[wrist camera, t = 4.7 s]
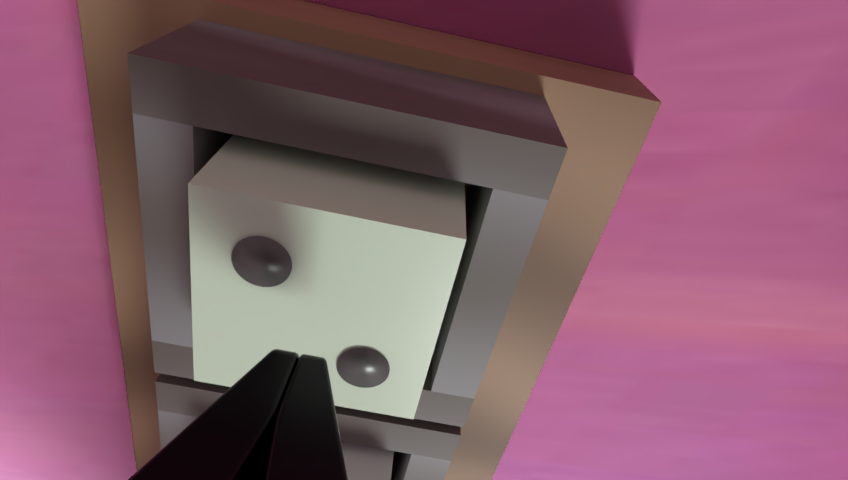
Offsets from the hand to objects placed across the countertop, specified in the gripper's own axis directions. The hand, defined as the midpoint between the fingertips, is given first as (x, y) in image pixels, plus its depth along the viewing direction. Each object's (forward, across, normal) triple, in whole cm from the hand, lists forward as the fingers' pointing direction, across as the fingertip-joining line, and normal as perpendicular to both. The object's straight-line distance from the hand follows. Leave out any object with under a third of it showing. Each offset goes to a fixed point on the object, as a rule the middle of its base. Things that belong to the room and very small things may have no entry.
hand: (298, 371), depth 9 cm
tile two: (+4, 0, 0) cm, 4 cm away
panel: (+7, 0, +7) cm, 10 cm away
